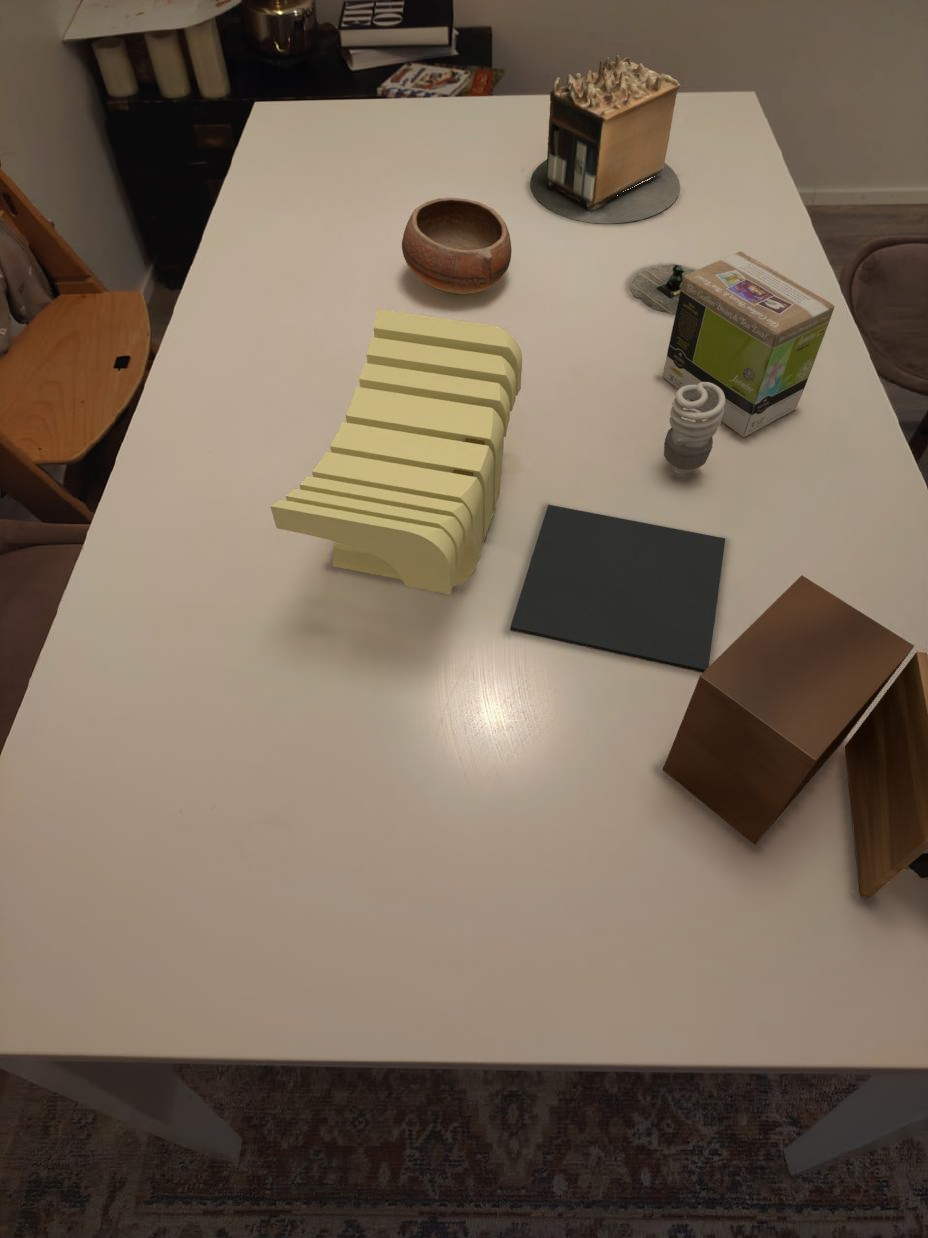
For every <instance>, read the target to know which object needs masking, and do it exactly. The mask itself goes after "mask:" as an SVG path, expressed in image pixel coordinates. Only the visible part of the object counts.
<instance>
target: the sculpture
mask: <svg viewBox="0 0 928 1238" xmlns="http://www.w3.org/2000/svg"><path fill="white" fill-rule="evenodd" d="M696 270H697V269H692V268H687V267H683V266H682V265H681V264H670V265H657V266H654V267H649V268H646V269H643V270H642V271H639V272H638V273H637V274H636V275H635V276H634V277H633V278H632V280H631V281H630V284H629V289H630V291H631V293H632V296H634V297H635V298H636V299H641V300H642V302H643V303H644V304H645V305H646V306H648V307H650V308H652V310H656V311H660V312H663V313H667V314H671V315H674V314H675V313H676V309H677V304H678V299H679V295H680V290H681V286H682V281H683V276H684V275H686V274H689V273H691V272H693V271H696Z"/></svg>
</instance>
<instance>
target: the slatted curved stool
mask: <svg viewBox="0 0 928 1238" xmlns="http://www.w3.org/2000/svg"><path fill="white" fill-rule="evenodd" d="M373 335H374V336H370V339H369V343H368V347H367V350H366V362H363V363H362V364H363V365H362V368H361V371H360V375H359V377H358V381H359V386H356V387H355V390H354V393H353V395H352V398H351V400H350V403H349V406H348V408H347V410H346V413H345V421H342V422H341V424H340V426H339V429H338V430H337V433H336V435H335V437H334V439H333V440H332V442H331V444H330V446H329V448H330V451H326V452H325V453H324V454H323V456H322V458H321V459H320V460H319V462H318V463H317V464H316V466H315V467H314V468H313V469H312V471H311V473H312V475H311V476H310V475H307V476H306V477H305V478H304V479H303V480H302V481H301V482H300V483H299V488H293V490H291V491H290V492H289V493H287V494H286V495H285V500H284V499H279V500H277V501H276V502H274V503H273V504H270V506H269V507H270V510H271V515H272V517H273V520H274V524H275V528H276V529H278V530H284V531H288V532H293V533H296V534H301V535H306V536H311V537H314V538H315V537H316V538H320V539H324V540H328V541H331V542H335V544H334V546H333V560H332V567H334V568H339V569H345V570H350V571H354V572H355V571H356V572H359V573H365V574H370V575H376V576H381V577H384V578H385V577H386V578H391V579H396V580H401V581H402V582H403V585H404V586H405V587H408V588H409V587H410V588H414V589H420V590H425V591H431V592H435V593H440V594H445V595H450V596H451V595H452V592H453V587H456V586H459V585H460V584H462V583H464V582H465V581H467V580H468V579H469V578H470V577H471V576H472V575H473V574H474V572H475V570H476V568H477V565H478V562H479V558H480V556H481V553H482V550H483V545H484V543H485V540H486V537H487V534H488V531H489V528H490V525H491V522H492V519H493V515H494V513H495V511H496V507H497V504H498V500H499V497H500V495H501V494H500V493H501V480H502V479H501V478H502V467H503V457H504V449H505V448H504V447H505V446H504V445H505V444H504V442H505V438H506V437H507V432H508V427H509V423H510V420H511V419H510V418H511V412H513V409H514V406H515V403H516V399H517V397H518V395H519V393H520V391H521V389H522V388H521V387H522V371H523V370H522V369H523V354H522V350H521V347H520V345H519V343H518V342H517V340H516V339H515V338H514V337H513V336H512V334H510V333H509V332H507V331H506V330H505V329H503V328H501V327H498V326H496V325H493V324H487V323H479V322H472V321H464V320H458V319H451V318H443V317H438V316H436V317H435V316H429V315H423V314H416V313H408V312H402V311H393V310H387V309H382V308H381V309H379V308H378V309H377V311H376V315H375V320H374V324H373Z"/></svg>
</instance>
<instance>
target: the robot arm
mask: <svg viewBox="0 0 928 1238" xmlns="http://www.w3.org/2000/svg"><path fill="white" fill-rule="evenodd" d="M908 866H909V867H910V868H911V869H912V870H911V871H913V872H914V873H915V874H916V875H917V876H918V877H919V878H920V879H928V853H923V854H921V855H920V856H919V857H918V858H917V859H916V860H914V861H913V862H912V863H911V864H910V865H908Z"/></svg>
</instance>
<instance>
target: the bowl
mask: <svg viewBox="0 0 928 1238" xmlns="http://www.w3.org/2000/svg"><path fill="white" fill-rule="evenodd" d="M508 228H509V227H508V225H507V223H506V222H505V220H504V219H503V217H502V216H501V215H500V214H499V213H498V212H497V210H495V209H494V208H492V207H490V206H488V205H487V204H484V203H482V202H479V201H477V200H472V199H468V198H462V197H461V198H460V197H441V198H440V197H437V198H434V199H430V200H428V201H425V202H423V203H422V204H420V205H419V206H417V207H416V208H415V209H414V210H413V212H412V213H411V214H410V216H409V219H408V220H407V223H406V225H405V228H404V231H403V236H402V239H401V250H402V255H403V258H404V260H405V263H406V265H407V267H408V268H409V269H410V270H411V271H412V273H413V274H414V275H416V276H417V277H418V278H419V279H420V280H421V281H422V282H423V283H425V284H428V285H430V286H431V287H433V288H434V289H437V290H440V291H443V292H447V293H452V294H460V295H461V294H464V295H465V294H474V293H478V292H481V291H484V290H487V289H489V288H491V287H492V286H493V285H495V284H496V283H498V282H499V281H500V280H501V279H502V278H503V276H504V275H505V273H506V272H507V271H508V269H509V267H510V264H511V262H512V261H511V259H512V250H513V249H512V241H511V235H510V232H509V229H508Z"/></svg>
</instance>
